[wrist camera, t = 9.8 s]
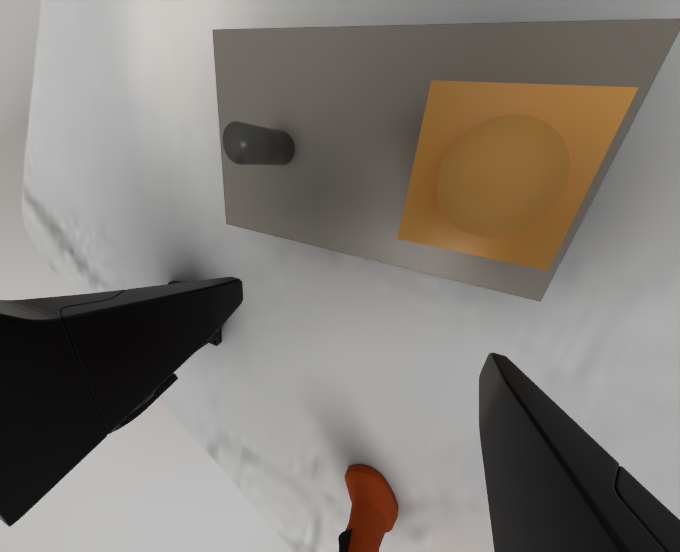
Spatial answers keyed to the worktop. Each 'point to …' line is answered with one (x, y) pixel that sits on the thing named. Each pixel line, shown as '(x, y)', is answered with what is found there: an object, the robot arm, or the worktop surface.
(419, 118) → the grey peg board
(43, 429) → the robot arm
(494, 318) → the worktop surface
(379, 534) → the toy drill
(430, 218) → the orange knobbed cube
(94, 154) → the worktop surface
